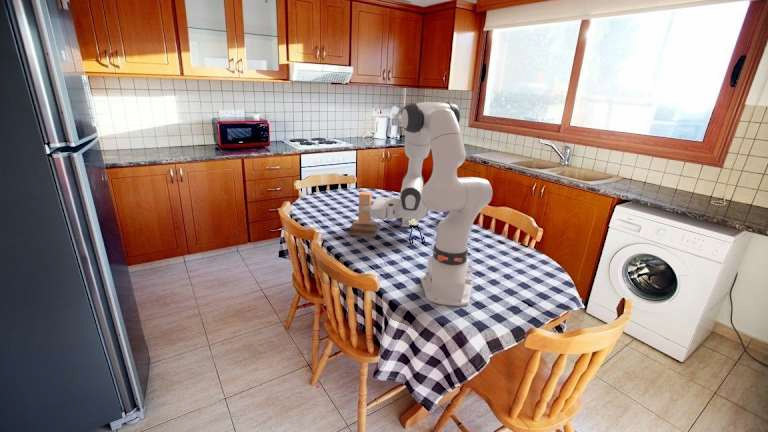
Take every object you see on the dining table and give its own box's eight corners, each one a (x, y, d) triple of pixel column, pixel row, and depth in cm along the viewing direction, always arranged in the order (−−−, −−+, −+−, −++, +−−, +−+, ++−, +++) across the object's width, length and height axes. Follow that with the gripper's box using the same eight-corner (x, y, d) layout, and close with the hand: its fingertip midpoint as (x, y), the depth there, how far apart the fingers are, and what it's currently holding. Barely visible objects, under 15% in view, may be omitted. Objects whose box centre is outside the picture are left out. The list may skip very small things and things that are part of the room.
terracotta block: (368, 223, 176) (370, 195, 171) (358, 222, 176) (359, 194, 172) (370, 220, 180) (371, 192, 176) (360, 219, 181) (361, 191, 176)
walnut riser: (374, 237, 174) (375, 231, 173) (349, 234, 175) (349, 228, 174) (378, 228, 185) (378, 222, 184) (354, 225, 186) (354, 220, 185)
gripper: (395, 195, 183) (367, 192, 184) (390, 208, 164) (359, 205, 165) (394, 207, 185) (367, 205, 186) (389, 221, 166) (359, 218, 167)
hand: (363, 205), depth 176 cm, fingers closed on terracotta block, 5 cm apart
